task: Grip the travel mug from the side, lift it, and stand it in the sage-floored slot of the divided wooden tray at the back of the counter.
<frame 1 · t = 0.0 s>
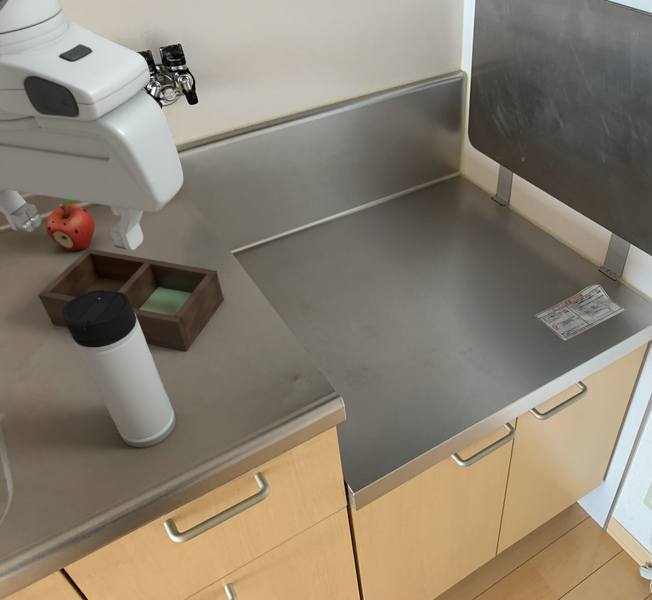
hand: (78, 236, 49), 31 cm above the countertop, tool pointing down, fingers open, 8 cm apart
apple: (82, 246, 101), on the countertop
travel mug: (149, 428, 73), on the countertop
divided wooden tray: (140, 311, 88), on the countertop
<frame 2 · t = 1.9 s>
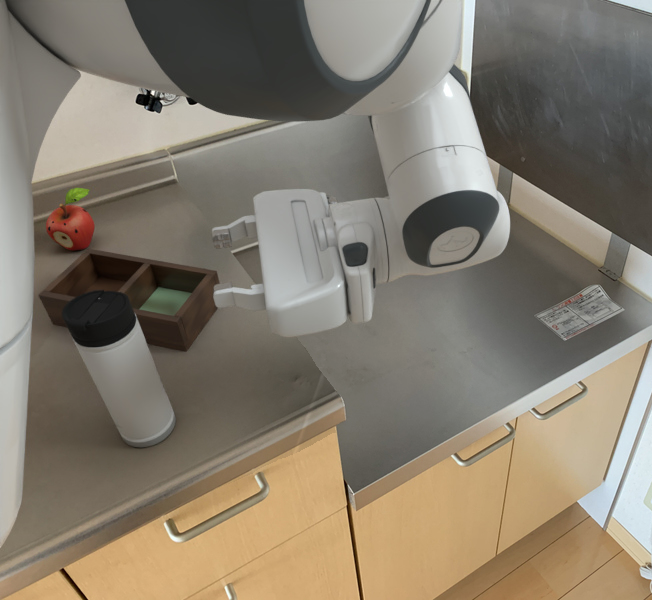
hand: (213, 266, 60), 22 cm above the countertop, tool horizontal, fingers open, 8 cm apart
nothing on the countertop moved.
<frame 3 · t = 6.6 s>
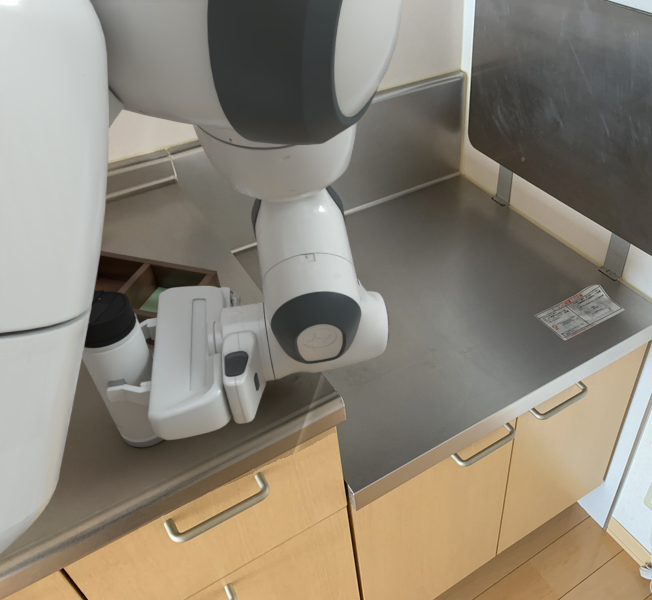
hand: (112, 366, 66), 11 cm above the countertop, tool horizontal, fingers closed on travel mug, 6 cm apart
travel mug: (149, 428, 73), on the countertop, touching gripper
everything else where it was.
when the fingers open (12 cm above the countertop, at t = 14.7 s): travel mug stays where it is, resting on divided wooden tray.
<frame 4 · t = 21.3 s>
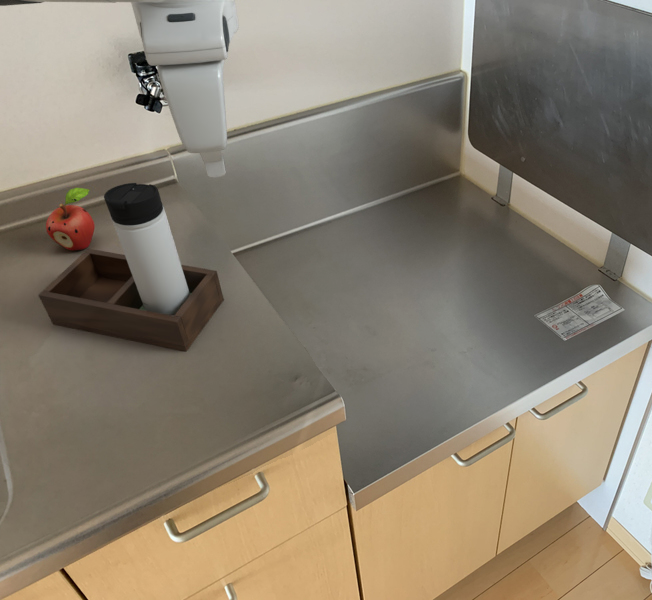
hand: (216, 151, 64), 29 cm above the countertop, tool pointing down, fingers open, 8 cm apart
travel mug: (170, 312, 87), point 1 cm above the countertop, touching divided wooden tray
everything else where it was.
at the end: travel mug 0.2 cm from the target spot in the divided wooden tray, point 1.0 cm above the divided wooden tray's base; travel mug tilted 0°; the gripper is holding nothing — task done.
